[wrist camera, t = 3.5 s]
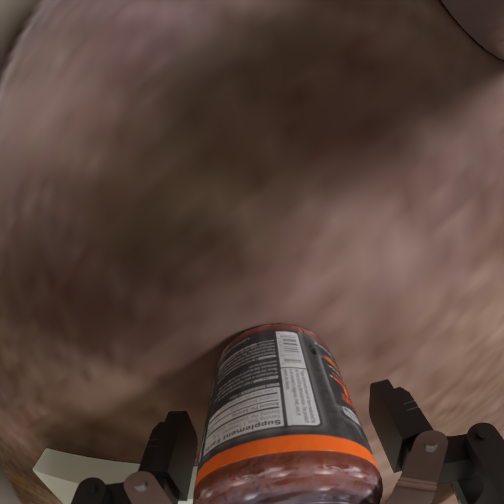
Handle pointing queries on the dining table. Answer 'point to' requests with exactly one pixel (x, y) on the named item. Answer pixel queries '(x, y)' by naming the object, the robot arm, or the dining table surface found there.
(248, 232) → the dining table surface
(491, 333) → the dining table surface
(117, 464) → the scale base
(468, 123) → the dining table surface
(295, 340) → the supplement bottle
